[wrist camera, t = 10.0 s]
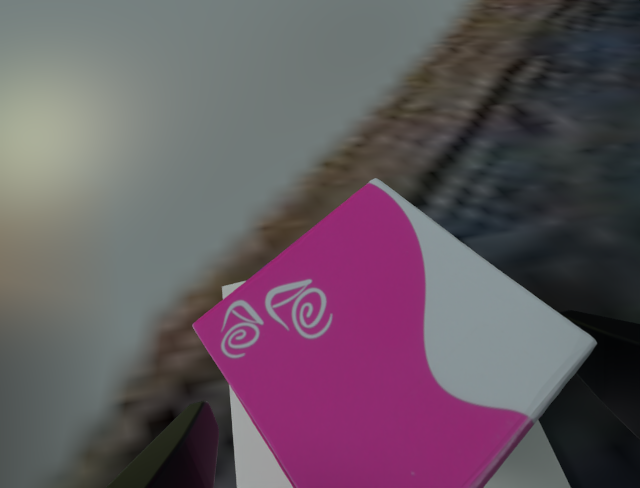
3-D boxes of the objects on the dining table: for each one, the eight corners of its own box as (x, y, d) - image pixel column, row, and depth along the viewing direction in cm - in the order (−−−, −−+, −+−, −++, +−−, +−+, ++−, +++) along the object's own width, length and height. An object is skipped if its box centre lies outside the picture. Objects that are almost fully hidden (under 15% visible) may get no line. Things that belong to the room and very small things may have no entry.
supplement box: (369, 305, 18) (380, 165, 8) (457, 394, 16) (630, 351, 6) (287, 379, 17) (179, 321, 7) (369, 489, 14) (392, 657, 4)
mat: (574, 517, 14) (588, 524, 13) (253, 598, 14) (246, 610, 13) (444, 239, 21) (448, 231, 20) (227, 292, 21) (222, 286, 20)
